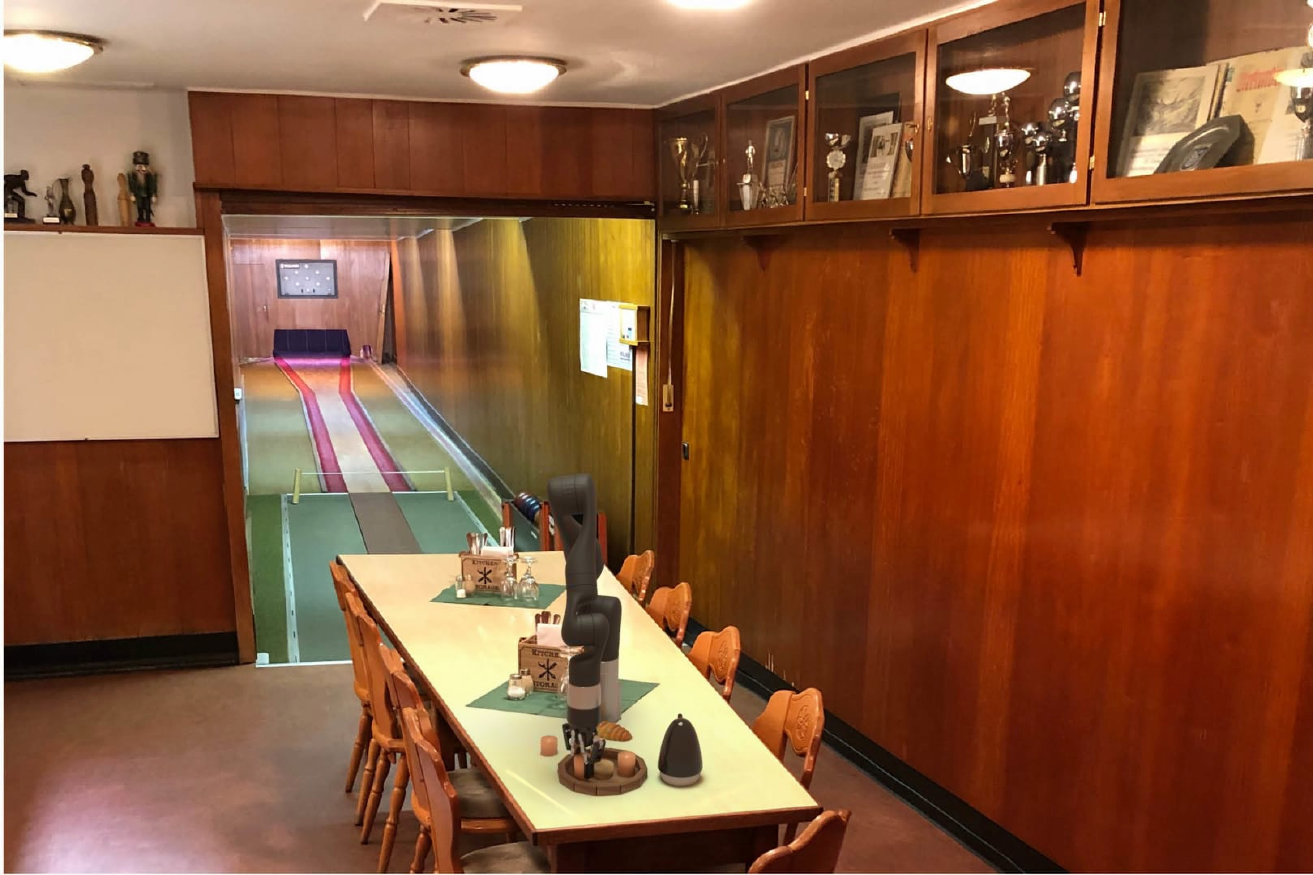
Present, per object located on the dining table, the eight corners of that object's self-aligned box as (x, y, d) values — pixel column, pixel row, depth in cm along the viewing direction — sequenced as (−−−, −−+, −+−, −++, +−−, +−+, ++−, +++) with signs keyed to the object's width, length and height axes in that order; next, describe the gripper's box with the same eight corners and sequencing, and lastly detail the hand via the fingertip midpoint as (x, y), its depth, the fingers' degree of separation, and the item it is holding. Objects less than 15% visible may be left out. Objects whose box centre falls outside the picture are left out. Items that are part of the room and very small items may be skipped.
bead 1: (551, 751, 250) (551, 733, 249) (560, 757, 247) (560, 739, 246) (537, 756, 247) (537, 738, 247) (546, 761, 244) (547, 743, 244)
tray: (609, 752, 250) (610, 738, 250) (664, 782, 235) (664, 767, 235) (541, 775, 237) (541, 760, 237) (593, 808, 222) (594, 793, 222)
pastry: (638, 740, 258) (638, 725, 258) (622, 749, 252) (622, 734, 252) (607, 731, 263) (607, 716, 263) (591, 740, 257) (591, 725, 257)
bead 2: (584, 769, 235) (584, 751, 234) (595, 776, 232) (595, 757, 231) (570, 774, 232) (570, 755, 232) (580, 781, 229) (581, 761, 229)
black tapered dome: (700, 771, 241) (702, 709, 239) (703, 792, 231) (705, 727, 229) (656, 771, 240) (658, 709, 238) (658, 792, 230) (659, 727, 228)
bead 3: (627, 767, 240) (628, 749, 239) (638, 773, 237) (638, 755, 236) (614, 772, 237) (614, 753, 237) (624, 778, 234) (625, 759, 234)
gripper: (617, 707, 227) (615, 781, 229) (578, 688, 238) (577, 759, 240) (589, 715, 222) (588, 790, 224) (551, 695, 233) (551, 767, 235)
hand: (582, 774), depth 232 cm, fingers closed on bead 2, 3 cm apart
